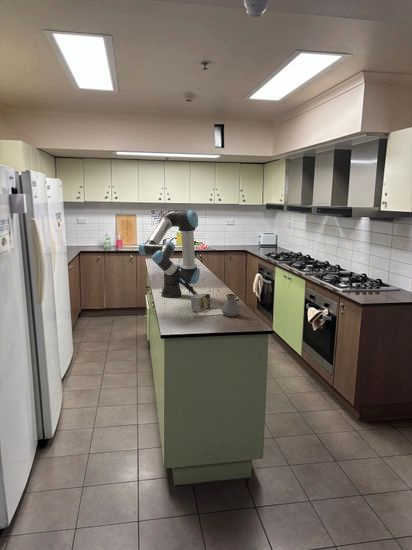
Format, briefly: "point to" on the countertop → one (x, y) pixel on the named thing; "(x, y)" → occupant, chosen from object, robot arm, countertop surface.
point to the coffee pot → (231, 306)
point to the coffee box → (200, 302)
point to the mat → (210, 312)
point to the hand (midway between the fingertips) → (198, 296)
